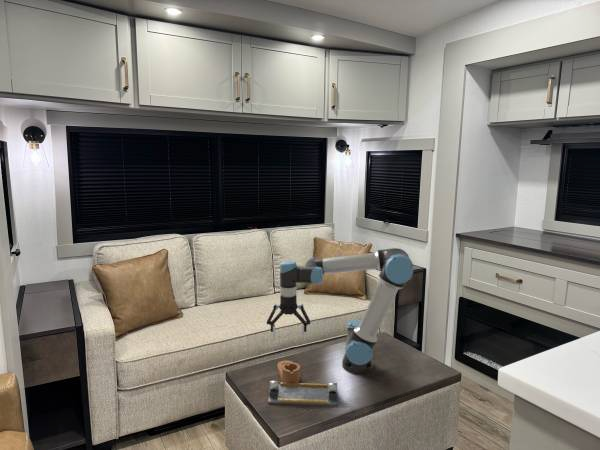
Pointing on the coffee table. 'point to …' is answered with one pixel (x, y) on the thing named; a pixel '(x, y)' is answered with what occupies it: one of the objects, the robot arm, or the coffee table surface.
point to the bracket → (289, 372)
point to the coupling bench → (303, 394)
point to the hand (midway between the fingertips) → (288, 338)
